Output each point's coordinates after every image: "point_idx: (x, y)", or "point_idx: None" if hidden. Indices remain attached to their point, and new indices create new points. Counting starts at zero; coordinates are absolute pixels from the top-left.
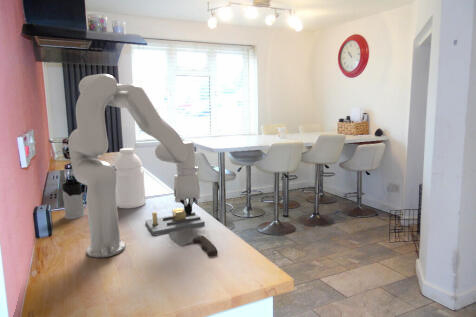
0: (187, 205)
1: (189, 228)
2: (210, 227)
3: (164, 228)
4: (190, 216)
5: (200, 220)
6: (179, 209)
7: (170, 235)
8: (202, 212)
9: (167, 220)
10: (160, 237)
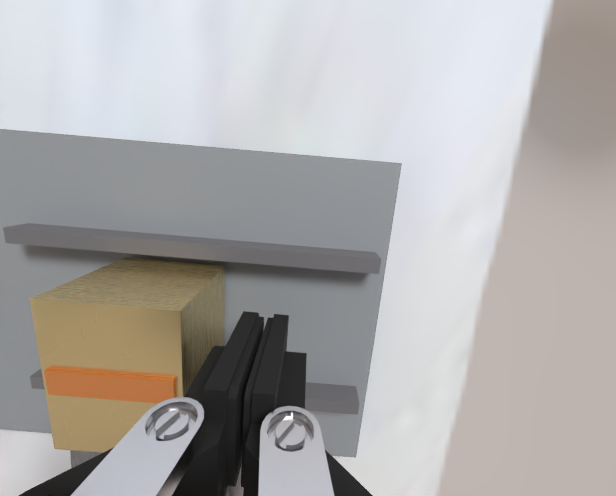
0: (219, 475)
1: None
2: (364, 480)
3: (21, 416)
4: (310, 283)
5: (341, 419)
6: (130, 361)
7: (77, 462)
8: (512, 137)
9: (72, 257)
10: (12, 452)
